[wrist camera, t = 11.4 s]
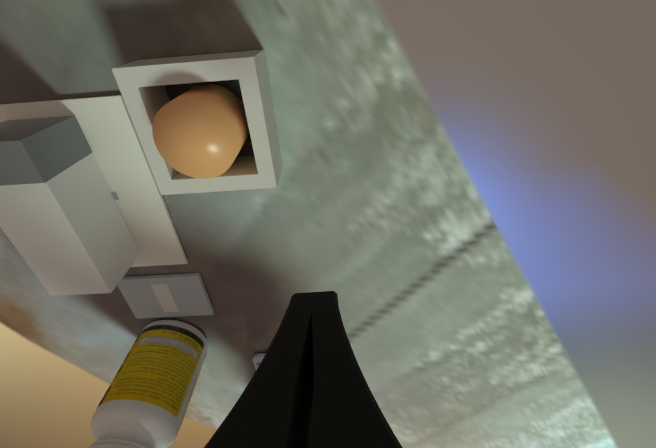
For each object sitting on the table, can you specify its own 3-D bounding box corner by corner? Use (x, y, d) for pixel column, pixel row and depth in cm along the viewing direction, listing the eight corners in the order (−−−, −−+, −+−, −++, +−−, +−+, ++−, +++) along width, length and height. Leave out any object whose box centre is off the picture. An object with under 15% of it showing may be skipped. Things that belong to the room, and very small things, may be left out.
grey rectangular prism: (141, 253, 22) (111, 294, 19) (87, 256, 22) (48, 297, 19) (74, 115, 17) (19, 140, 14) (6, 120, 17) (-64, 145, 14)
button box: (282, 167, 19) (276, 187, 17) (179, 174, 19) (161, 195, 17) (263, 49, 16) (253, 57, 14) (139, 59, 16) (111, 68, 14)
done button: (256, 152, 18) (244, 175, 16) (190, 156, 18) (168, 180, 16) (241, 80, 16) (225, 95, 14) (168, 86, 16) (139, 102, 14)
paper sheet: (188, 262, 23) (186, 264, 23) (61, 269, 23) (59, 271, 23) (122, 94, 17) (119, 95, 17) (-48, 108, 17) (-52, 109, 17)
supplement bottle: (134, 314, 26) (45, 458, 18) (204, 318, 26) (148, 461, 18) (149, 357, 29) (79, 497, 21) (213, 360, 29) (168, 499, 21)
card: (214, 311, 26) (212, 315, 25) (138, 315, 26) (135, 319, 26) (199, 272, 24) (197, 276, 23) (116, 277, 24) (113, 280, 24)
